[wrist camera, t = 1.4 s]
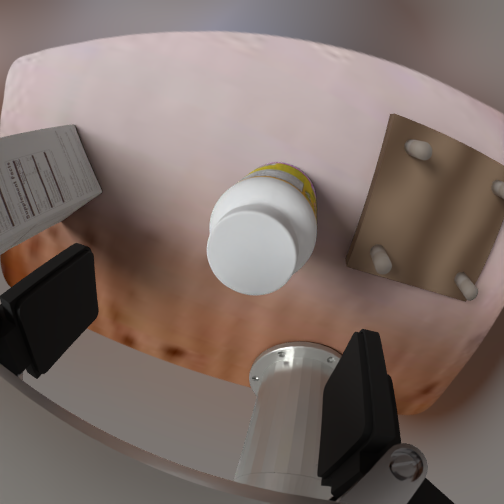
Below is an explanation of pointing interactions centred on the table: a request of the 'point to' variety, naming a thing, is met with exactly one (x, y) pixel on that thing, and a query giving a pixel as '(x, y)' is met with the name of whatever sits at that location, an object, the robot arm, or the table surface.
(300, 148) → the table surface
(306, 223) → the supplement bottle
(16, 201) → the supplement box
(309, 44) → the table surface
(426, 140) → the board
